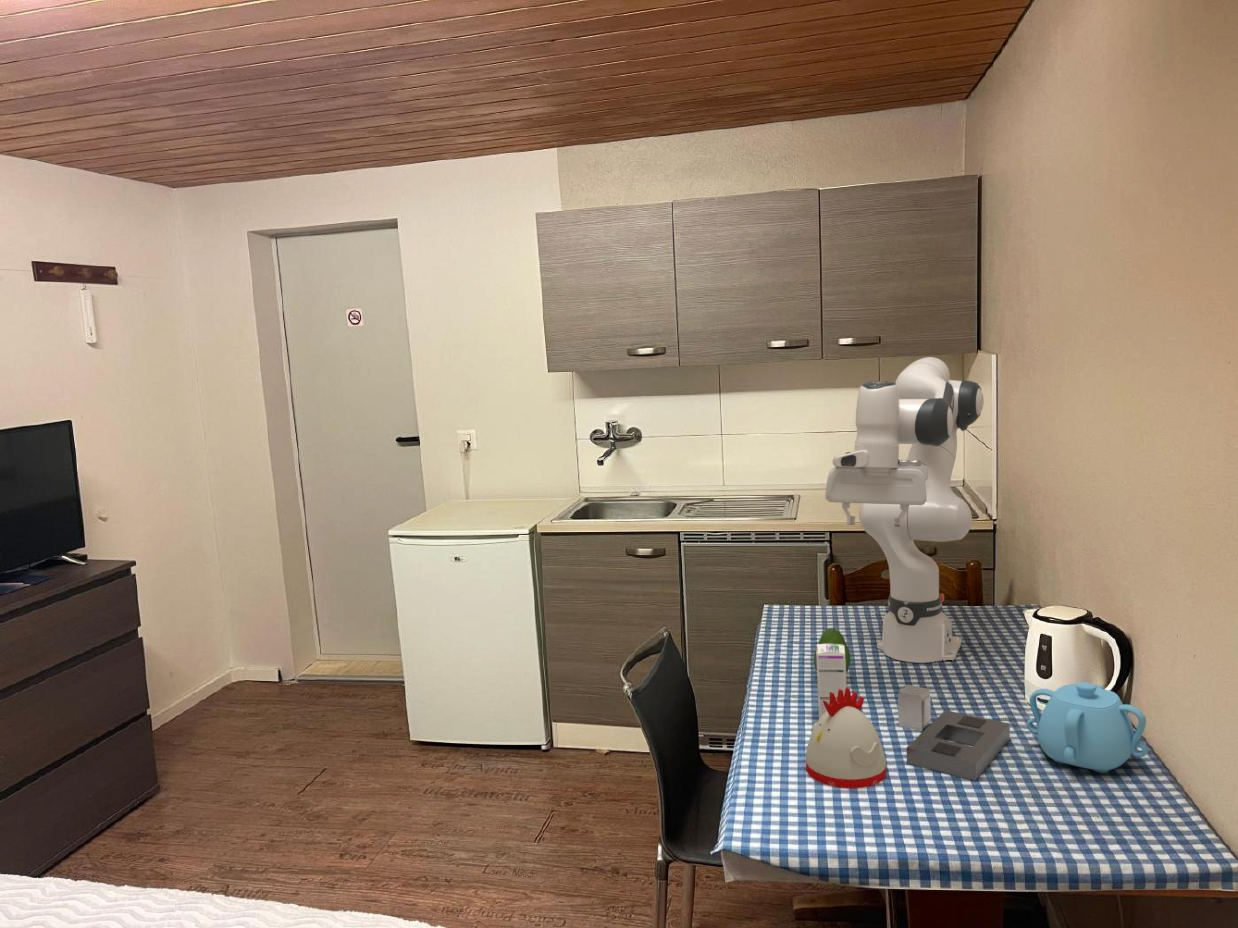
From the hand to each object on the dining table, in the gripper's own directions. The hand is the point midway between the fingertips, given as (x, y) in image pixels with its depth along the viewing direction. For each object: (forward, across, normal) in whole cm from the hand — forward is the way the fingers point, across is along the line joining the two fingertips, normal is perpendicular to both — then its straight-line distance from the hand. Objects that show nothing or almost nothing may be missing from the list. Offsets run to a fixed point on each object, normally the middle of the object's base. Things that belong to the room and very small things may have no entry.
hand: (874, 525), depth 188 cm
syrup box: (+39, +8, +8) cm, 40 cm away
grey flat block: (+39, -14, +22) cm, 47 cm away
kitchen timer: (+41, +7, +31) cm, 52 cm away
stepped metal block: (+38, -8, +11) cm, 40 cm away
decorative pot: (+38, -35, +23) cm, 57 cm away
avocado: (+36, +6, -13) cm, 39 cm away
